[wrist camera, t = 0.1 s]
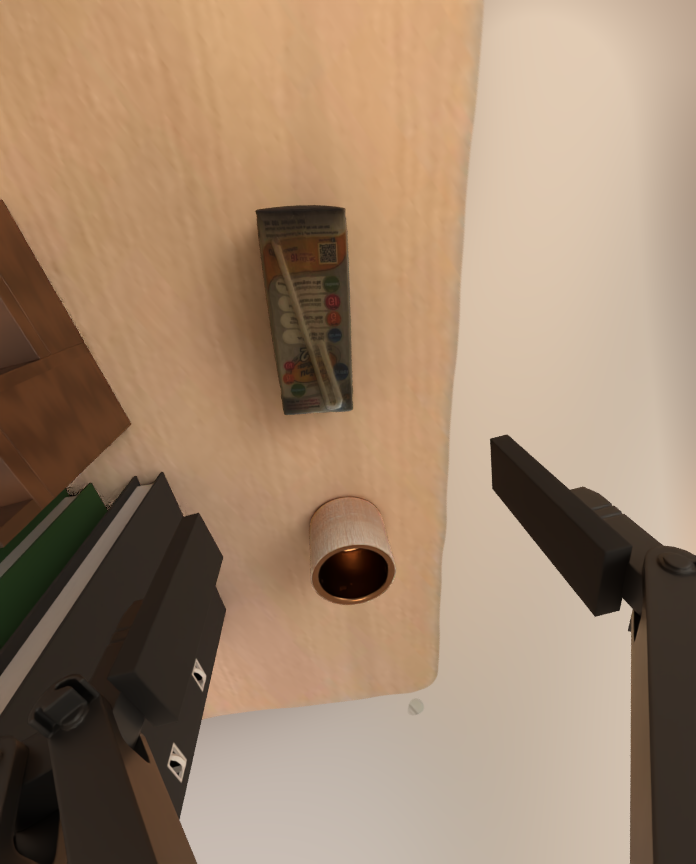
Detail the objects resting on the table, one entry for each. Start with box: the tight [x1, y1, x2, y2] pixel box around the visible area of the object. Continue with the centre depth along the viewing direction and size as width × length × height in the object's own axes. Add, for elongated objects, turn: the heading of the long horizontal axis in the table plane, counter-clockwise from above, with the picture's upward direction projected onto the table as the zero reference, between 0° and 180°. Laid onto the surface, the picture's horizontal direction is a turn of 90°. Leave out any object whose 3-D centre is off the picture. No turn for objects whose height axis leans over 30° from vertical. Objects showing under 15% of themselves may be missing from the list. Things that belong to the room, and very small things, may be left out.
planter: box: [309, 497, 396, 605], centre depth 48 cm, size 11×11×10 cm
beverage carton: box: [256, 205, 353, 415], centre depth 36 cm, size 8×19×7 cm, turn 2°
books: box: [0, 472, 226, 864], centre depth 37 cm, size 27×15×32 cm, turn 7°
